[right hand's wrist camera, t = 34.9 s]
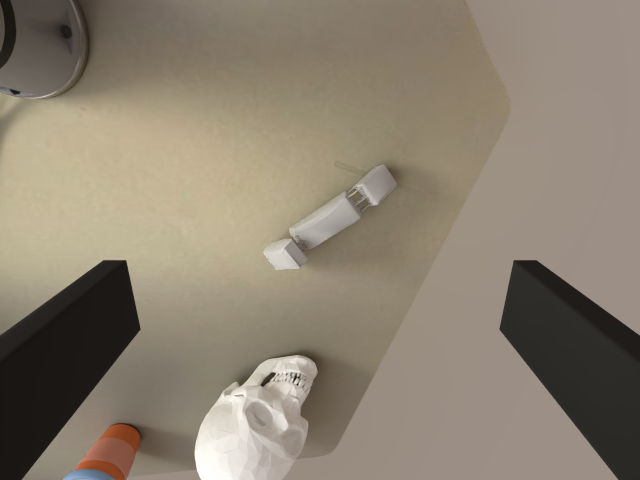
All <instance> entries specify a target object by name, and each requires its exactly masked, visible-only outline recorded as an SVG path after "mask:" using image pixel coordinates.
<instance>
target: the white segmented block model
mask: <svg viewBox="0 0 640 480" xmlns="http://www.w3.org/2000/svg"><path fill="white" fill-rule="evenodd" d="M396 186H398V185H397V183H396V181H395V180H394V178H393V177H392V175H391V174H390V172H389V171H388V169H387V168H386V166H385V165H380V166H377V167H374V168H373V169H372V170H371V171H370V172H369V173H368V174H366V175H365V176H364V177H363V178H362V179H361V180H360V181H359V182H358V183H357V184H356V185H355V186H354V187H353V188H352V189H351V190H350V191H349V192H348V191H344V192H342V193H341V194H340V195H338V196H337V197H335V198H334V199H332V200H331V201H329V202H328V203H326V204H325V205H323V206H322V207H320V208H319V209H317V210H316V211H314V212H313V213H311V214H310V215H308V216H307V217H305V218H304V219H302V220H301V221H299V222H298V223H296V224H295V225H293V226H292V227H290V230H289V233H290V235H291V236H292V237H293V238H292V239H288V238H286V239H282V240H279V241H274V242H272V243H271V244H270V245H269V246H268V247H267V248H266V249H265V250H264V255H265V256H266V257H267V259H268V260H269V261H270V262H271V264H272V265H273V266H274V267H275V269H276V270H284V269H300V268H301V266H302V265H303V264H304V263H305V262H307V261H308V258H307V256H306V255H305V254H304V253H303V252H302V251H304V250H306V249H308V250H310V249H312V248H314V247H315V246H317V245H319V244H321V243H322V242H324V241H325V240H327V239H329V238H330V237H332V236H333V235H335V234H337V233H338V232H340V231H341V230H343V229H345V228H346V227H348V226H350V225H351V224H353V223H355V222H356V221H358V220H359V219H360V218H361V214H362V213H363V212H364V211H365V209H366V208H367V207H368V206H376V205H379V204H380V203H381V202H382V201H383V200H384V199H385V198H386V197H387V196H388V195H389V194H390V193H391V192H392V191H393V189H394V188H395V187H396ZM354 188H355V189H356V191H355V192H354V193H352V194H351V195H350V192H351V191H352V190H353V189H354ZM358 191H359V192H360V194H361V195H362V196H363V197H362V198H361V199H359V200H358V201H356V202H355V200H354V199H353V198H352V195H354V194H355V193H356V192H358ZM360 200H361V201H360ZM363 200H366V201H367V202H368V205H367V206H365V207H364V208H362V209H361V208H360V207H359V206H358V204H359V203H361V202H362V201H363ZM357 202H358V203H357ZM362 210H363V211H362ZM361 211H362V212H361ZM293 239H294V240H295V241H296V243H297V244H298V245H296V243H295V242H294V241H293ZM298 246H299V247H300V248H299V247H298ZM301 248H303V250H300V249H301Z"/></svg>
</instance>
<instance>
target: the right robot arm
mask: <svg viewBox="0 0 640 480" xmlns="http://www.w3.org/2000/svg"><path fill="white" fill-rule="evenodd" d="M88 50H89V40H88V31H87V26H86V22H85V18H84V15H83V13H82V10H81V8H80V6H79V4H78V1H77V0H0V92H2V93H5V94H8V95H12V96H15V97H21V98H37V99H39V98H50V97H54V96H57V95H60V94H62V93H64V92H65V91H67V90H68V89H70V88H71V87H72V86H73V85H74V84H75V83H76V82H77V81H78V79H79V78H80V76H81V75H82V72H83V70H84V68H85V65H86V62H87V58H88ZM139 331H140V324H139V320H138V315H137V310H136V305H135V300H134V296H133V291H132V286H131V281H130V276H129V272H128V267H127V262H126V260H103V261H102V262H101V263H99V264H98V265H96V266H95V267H94V268H92V269H91V270H90V271H88V272H87V273H86V274H84V275H83V276H81V277H80V278H79V279H77V280H76V281H75V282H73V283H72V284H70V285H69V286H68V287H66V288H65V289H64V290H62V291H61V292H59V293H58V294H57V295H55V296H54V297H53V298H51V299H50V300H48V301H47V302H46V303H44V304H43V305H42V306H40V307H39V308H38V309H36V310H35V311H33V312H32V313H31V314H29V315H28V316H27V317H25V318H24V319H22V320H21V321H20V322H18V323H17V324H16V325H14V326H13V327H11V328H10V329H9V330H7V331H6V332H5V333H3V334H2V335H0V480H22V478H23V477H24V476H25V475H26V473H27V472H28V471H29V470H30V468H31V467H32V466H33V465H34V463H35V462H36V461H37V460H38V458H39V457H40V456H41V454H42V453H43V452H44V451H45V449H46V448H47V447H48V446H49V444H50V443H51V442H52V441H53V439H54V438H55V437H56V436H57V434H58V433H59V432H60V430H61V429H62V428H63V427H64V425H65V424H66V423H67V422H68V420H69V419H70V418H71V417H72V415H73V414H74V413H75V412H76V410H77V409H78V408H79V406H80V405H81V404H82V403H83V401H84V400H85V399H86V398H87V396H88V395H89V394H90V393H91V391H92V390H93V389H94V388H95V386H96V385H97V384H98V382H99V381H100V380H101V379H102V377H103V376H104V375H105V374H106V372H107V371H108V370H109V369H110V367H111V366H112V365H113V363H114V362H115V361H116V360H117V358H118V357H119V356H120V355H121V353H122V352H123V351H124V350H125V348H126V347H127V346H128V345H129V343H130V342H131V341H132V339H133V338H134V337H135V336H136V334H137V333H138V332H139ZM500 331H501V332H502V333H503V334H504V336H505V337H506V338H507V339H508V341H509V342H510V343H511V345H512V346H513V347H514V348H515V350H516V351H517V352H518V353H519V355H520V356H521V357H522V358H523V360H524V361H525V362H526V363H527V365H528V366H529V367H530V369H531V370H532V371H533V372H534V374H535V375H536V376H537V377H538V379H539V380H540V381H541V382H542V384H543V385H544V386H545V387H546V389H547V390H548V391H549V393H550V394H551V395H552V396H553V398H554V399H555V400H556V401H557V403H558V404H559V405H560V406H561V408H562V409H563V410H564V411H565V413H566V414H567V415H568V417H569V418H570V419H571V420H572V422H573V423H574V424H575V425H576V427H577V428H578V429H579V430H580V432H581V433H582V434H583V436H584V437H585V438H586V439H587V441H588V442H589V443H590V444H591V446H592V447H593V448H594V449H595V451H596V452H597V453H598V454H599V456H600V457H601V458H602V459H603V461H604V462H605V463H606V465H607V466H608V467H609V468H610V470H611V471H612V472H613V473H614V475H615V476H616V477H617V478H618V480H640V335H638V334H637V333H635V332H634V331H633V330H631V329H630V328H629V327H627V326H626V325H624V324H623V323H622V322H620V321H619V320H618V319H616V318H615V317H613V316H612V315H611V314H609V313H608V312H607V311H605V310H604V309H602V308H601V307H600V306H598V305H597V304H596V303H594V302H593V301H592V300H590V299H589V298H587V297H586V296H585V295H583V294H582V293H581V292H579V291H578V290H576V289H575V288H574V287H572V286H571V285H570V284H568V283H567V282H565V281H564V280H563V279H561V278H560V277H559V276H557V275H556V274H554V273H553V272H552V271H550V270H549V269H548V268H546V267H545V266H544V265H542V264H541V263H539V262H538V261H536V260H514V262H513V267H512V272H511V276H510V281H509V286H508V291H507V296H506V300H505V305H504V310H503V315H502V320H501V324H500Z"/></svg>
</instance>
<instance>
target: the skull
mask: <svg viewBox="0 0 640 480" xmlns="http://www.w3.org/2000/svg"><path fill="white" fill-rule="evenodd" d="M273 372H275V373H277V374H276V375H275V376H274V378H272V379H271V380H270V382H269V383H267V384H266V385H265V386H264V387H262V386H260V385H261V383H262V382H263V380H264V379H265V378H266V377H267V376H268V375H269V374H271V373H273ZM290 373H292V377H293V378H291V376H290ZM296 373H297V377H299V375H300V374H301V376H300V379H301V380H300V381H299V379H298V378H297V379H296V380H295V382H294V383H292V382H293V379H294V377H295V374H296ZM317 373H318V371H317V368H316V365H315V363H314V362H313V361H312V360H311V359H309V358H307V357H305V356H300V355H294V356H287V357H280V358H273V359H268V360H266V361H264V362H262V363H261V364H260V365H259V366H258V367H257V369H256V370H255V371H254V373H253V374H252V375H251V376H250V377H249V379H248V380H247V381H246V382H245V383H244V384H243V385H242V386H239V384H238V383H237V382H234V383H232V384H231V385H230V386H229V387H228V388H226V389H224V390H223V392H222V394H221V396H220V398H219V399H218V401H217V402H216V403H215V404H214V406H213V407H212V408H211V409H210V411H209V412H208V414H207V415H206V417H205V418H204V420H203V422H202V424H201V426H200V430H199V433H198V437H197V441H196V445H195V460H196V466H197V471H198V474H199V476H200V478H201V480H282V479H283V478H284V477H285V476H286V474H287V473H288V472H289V470H290V468H291V467H292V465H293V463H294V461H295V460H296V458H297V457H298V455H299V454H300V453H301V451H302V448H303V446H304V443H305V440H306V437H307V432H308V421H307V420H305V419H304V418H303V417H302V416H301V415H300V414H301V406H302V404H303V402H304V401H305V399H306V397H307V395H308V394H309V391H310V389H311V388H310V387H311V386H312V383H313V380H314V378H315V377H316V375H317ZM278 374H279V375H278ZM282 374H283V375H282ZM286 374H287V375H286ZM290 378H291V379H290ZM302 378H303V379H302ZM286 379H287V380H286ZM285 380H286V381H285ZM289 380H290V382H289ZM298 382H299V385H298V386H297V385H296V384H297V383H298Z"/></svg>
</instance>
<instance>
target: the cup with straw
mask: <svg viewBox="0 0 640 480" xmlns="http://www.w3.org/2000/svg"><path fill="white" fill-rule="evenodd" d="M140 441H141V437H140V435H139V433H138V431H137V430H135V429H134V428H133V427H131V426H128V425H125V424H116V425H113V426H111V427H109V428H108V429H107V431H106V432H105V433H104V434H103V436H102V437H101V438H100V439H99V440H98V441H97V442H96V443H95V444H94V445H93V446H92V448H91V449H90V450H89V451H88V453H87V454H86V455H85V457H84V458H83V459H82V460H81V462H80V463H79V464H78V465H77V467H76V469H75V471H73V472H71V473H69V474H68V475H67V476H66V477H65V478H64V479H63V480H126V479H127V476H128V474H129V471H130V469H131V466H132V464H133V462H134V459H135V454H136V451H137V449H138V447H139V444H140Z"/></svg>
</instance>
